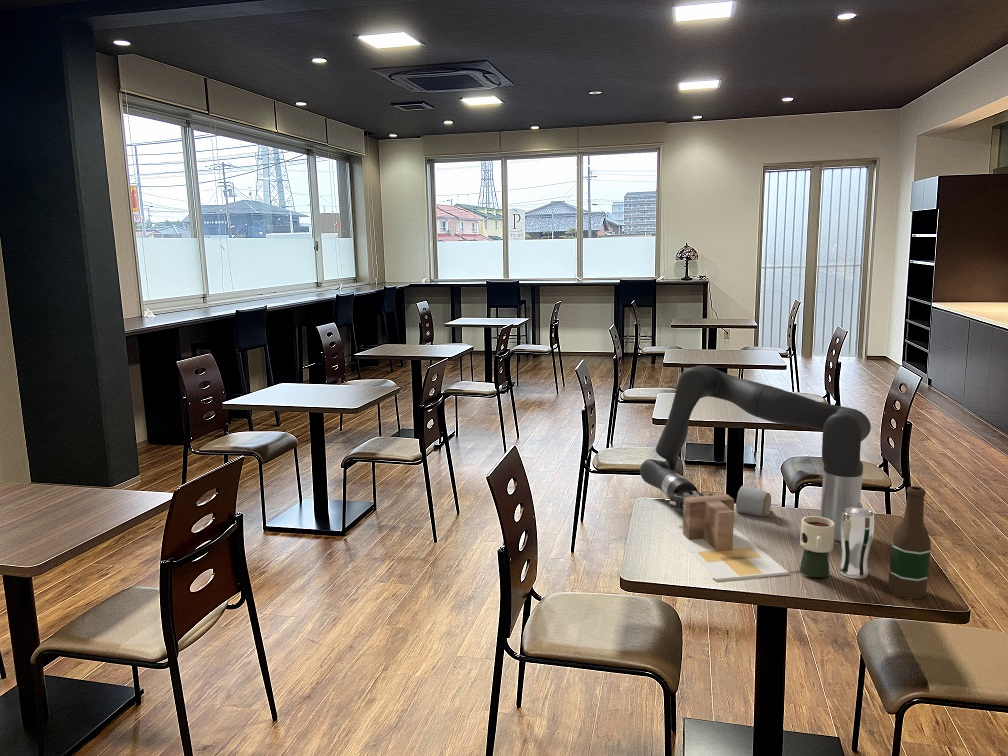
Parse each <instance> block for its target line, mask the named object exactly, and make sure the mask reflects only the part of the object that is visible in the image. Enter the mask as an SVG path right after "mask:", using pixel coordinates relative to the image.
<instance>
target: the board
mask: <svg viewBox="0 0 1008 756" xmlns="http://www.w3.org/2000/svg"><path fill="white" fill-rule="evenodd" d="M667 532H668V533H669V534H670V535H671V536H672V537H673V538H674V539H675V540H676V541H677V542H678V543H679V544H680V545H681V546H682V547H683V548H684V549H685V550H686V551H687V552H688V553H689V554H690V555H691V556H692V557H693V558H694V559H695V561H697V562H698V563H699V564H700V566H702V567H703V568H704V569H705V571H707V573H709V574H710V576H712V580H714V582H722V581H723V582H724V581H733V580H744V579H752V578H753V579H755V578H766V577H774V576H775V577H776V576H785V575H789V571H788V570H786V569H785V568H784V567H783V566H781V564H779V563H778V562H777V561H775V560H774V559H773V558H772V557H770V556H769V555H768V554H767V553H765V551H763V550H761V548H759V547H758V546H757V545H756V544H755V543H753V542H752V541H751V540H750V539H748V538H747V537H746V536H745V535H743V533H741V532H740V531H738V530H737V529H736V528H735V527H734V528H733V548H732V550H728V551H716V550H715V549H714V548H713V547H712V546H711V545H710V544H709V543H708V542H706V541H705V540H704V539H694V540H688V539H687V538H686V537H685V536H684V535H683V528H679V529H677V528H676V529H668V530H667Z"/></svg>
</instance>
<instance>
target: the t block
mask: <svg viewBox="0 0 1008 756" xmlns="http://www.w3.org/2000/svg"><path fill="white" fill-rule="evenodd" d="M682 511H683V513H682V529H683V535H684V536H685V537H686V538H687V539H688V540H694V539H704V540H705V541H706V542H708V543H709V544H710V545H711V546H712V547H713V548H714V549H715V550H716V551H728V550H732V548H733V528H735V527H734V523H735V499H734V498H733V497H731V496H730V495H729V494H713V495H712V496H706V495H704V496H698V497H685V498H684V508H683V510H682Z"/></svg>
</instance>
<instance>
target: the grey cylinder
mask: <svg viewBox="0 0 1008 756" xmlns="http://www.w3.org/2000/svg"><path fill="white" fill-rule="evenodd" d="M735 501H736V502H735V510H736V512H737V513H741V514H747V515H752V516H756V517H761V518H762V517H764V518H765V517H767V516H768V515H769V513H770V510H771V506H772V495H771V493H770V492H767V491H766V490H762V489H758V488H754V487H749V486H746V485H741V486H740V488H739V490H738V491H737V495H736V500H735Z"/></svg>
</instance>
